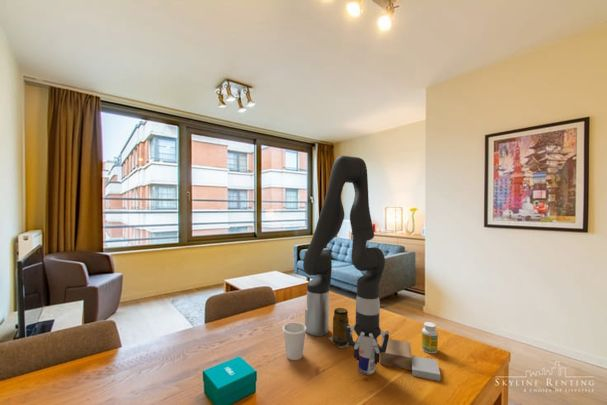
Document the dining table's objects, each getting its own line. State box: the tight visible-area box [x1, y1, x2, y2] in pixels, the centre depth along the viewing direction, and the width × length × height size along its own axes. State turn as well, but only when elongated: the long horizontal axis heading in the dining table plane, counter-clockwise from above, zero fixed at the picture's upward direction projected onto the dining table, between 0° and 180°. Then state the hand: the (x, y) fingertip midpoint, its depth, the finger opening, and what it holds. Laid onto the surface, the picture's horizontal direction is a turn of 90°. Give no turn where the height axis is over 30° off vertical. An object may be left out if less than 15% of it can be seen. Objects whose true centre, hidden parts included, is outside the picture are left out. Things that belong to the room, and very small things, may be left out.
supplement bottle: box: [421, 321, 439, 354], centre depth 101 cm, size 5×5×10 cm
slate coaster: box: [411, 355, 441, 382], centre depth 89 cm, size 8×8×2 cm
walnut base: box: [379, 337, 413, 371], centre depth 96 cm, size 10×10×4 cm
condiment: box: [327, 307, 350, 349], centre depth 107 cm, size 7×8×12 cm
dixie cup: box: [282, 321, 307, 361], centre depth 97 cm, size 8×8×10 cm
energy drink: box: [357, 336, 376, 376], centre depth 89 cm, size 5×5×12 cm
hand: (366, 360), depth 89 cm, fingers closed on energy drink, 5 cm apart
